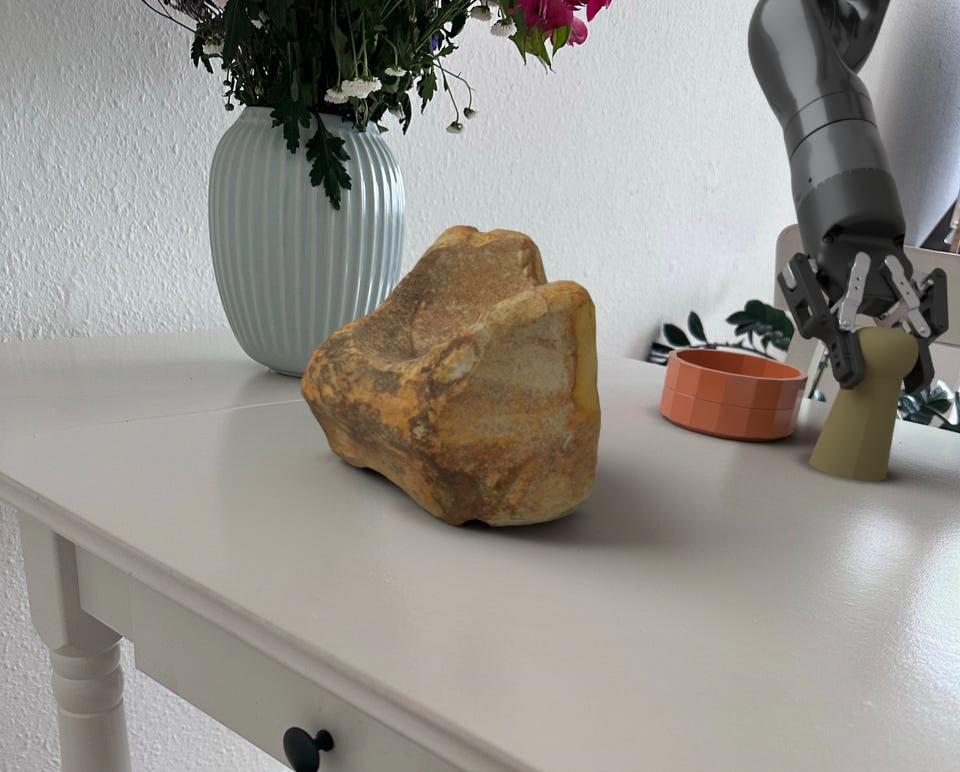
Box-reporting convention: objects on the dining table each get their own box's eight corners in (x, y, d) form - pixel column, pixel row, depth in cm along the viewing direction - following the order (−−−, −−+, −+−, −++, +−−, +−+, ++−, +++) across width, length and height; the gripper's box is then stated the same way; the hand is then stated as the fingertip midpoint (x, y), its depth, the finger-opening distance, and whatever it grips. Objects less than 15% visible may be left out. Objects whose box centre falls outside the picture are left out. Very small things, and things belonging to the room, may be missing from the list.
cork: (817, 454, 80) (855, 318, 75) (891, 471, 78) (936, 332, 73) (799, 468, 76) (838, 324, 71) (878, 488, 73) (924, 340, 68)
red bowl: (751, 411, 92) (765, 353, 90) (816, 448, 82) (834, 383, 80) (637, 404, 89) (649, 344, 87) (690, 442, 79) (705, 374, 77)
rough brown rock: (298, 433, 71) (285, 214, 64) (515, 426, 75) (526, 218, 67) (319, 570, 52) (304, 278, 44) (612, 552, 55) (644, 278, 48)
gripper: (790, 152, 72) (832, 351, 67) (953, 175, 75) (1004, 365, 70) (741, 223, 78) (776, 407, 74) (892, 240, 82) (934, 417, 77)
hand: (887, 385), depth 72 cm, fingers closed on cork, 5 cm apart
